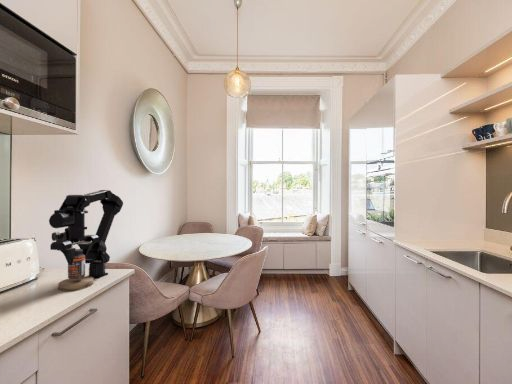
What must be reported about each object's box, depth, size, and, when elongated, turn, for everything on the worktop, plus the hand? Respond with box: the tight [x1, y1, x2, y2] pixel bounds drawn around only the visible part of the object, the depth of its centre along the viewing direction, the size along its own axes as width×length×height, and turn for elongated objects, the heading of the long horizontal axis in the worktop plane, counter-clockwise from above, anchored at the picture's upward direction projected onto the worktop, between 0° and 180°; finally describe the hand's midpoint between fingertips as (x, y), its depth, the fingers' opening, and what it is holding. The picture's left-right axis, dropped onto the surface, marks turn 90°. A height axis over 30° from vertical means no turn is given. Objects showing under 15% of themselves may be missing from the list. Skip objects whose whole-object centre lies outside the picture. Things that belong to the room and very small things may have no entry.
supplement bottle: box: [67, 248, 86, 279], centre depth 109 cm, size 6×6×11 cm
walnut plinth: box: [57, 275, 94, 292], centre depth 109 cm, size 12×12×2 cm
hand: (76, 262), depth 109 cm, fingers closed on supplement bottle, 6 cm apart
